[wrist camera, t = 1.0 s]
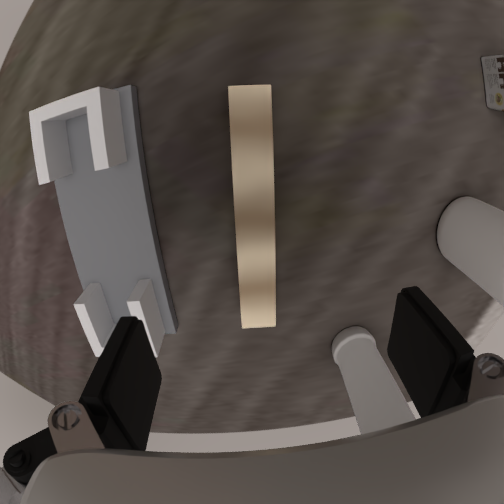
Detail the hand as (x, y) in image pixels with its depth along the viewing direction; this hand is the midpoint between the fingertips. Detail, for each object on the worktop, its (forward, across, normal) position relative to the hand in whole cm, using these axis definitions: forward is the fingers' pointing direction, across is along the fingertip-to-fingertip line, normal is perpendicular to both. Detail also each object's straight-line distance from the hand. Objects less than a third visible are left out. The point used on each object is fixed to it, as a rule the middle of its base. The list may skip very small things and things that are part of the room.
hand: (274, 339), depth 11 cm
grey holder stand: (+18, +14, 0) cm, 23 cm away
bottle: (+18, -10, +17) cm, 27 cm away
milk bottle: (+18, -23, +4) cm, 30 cm away
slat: (+18, 0, 0) cm, 18 cm away
